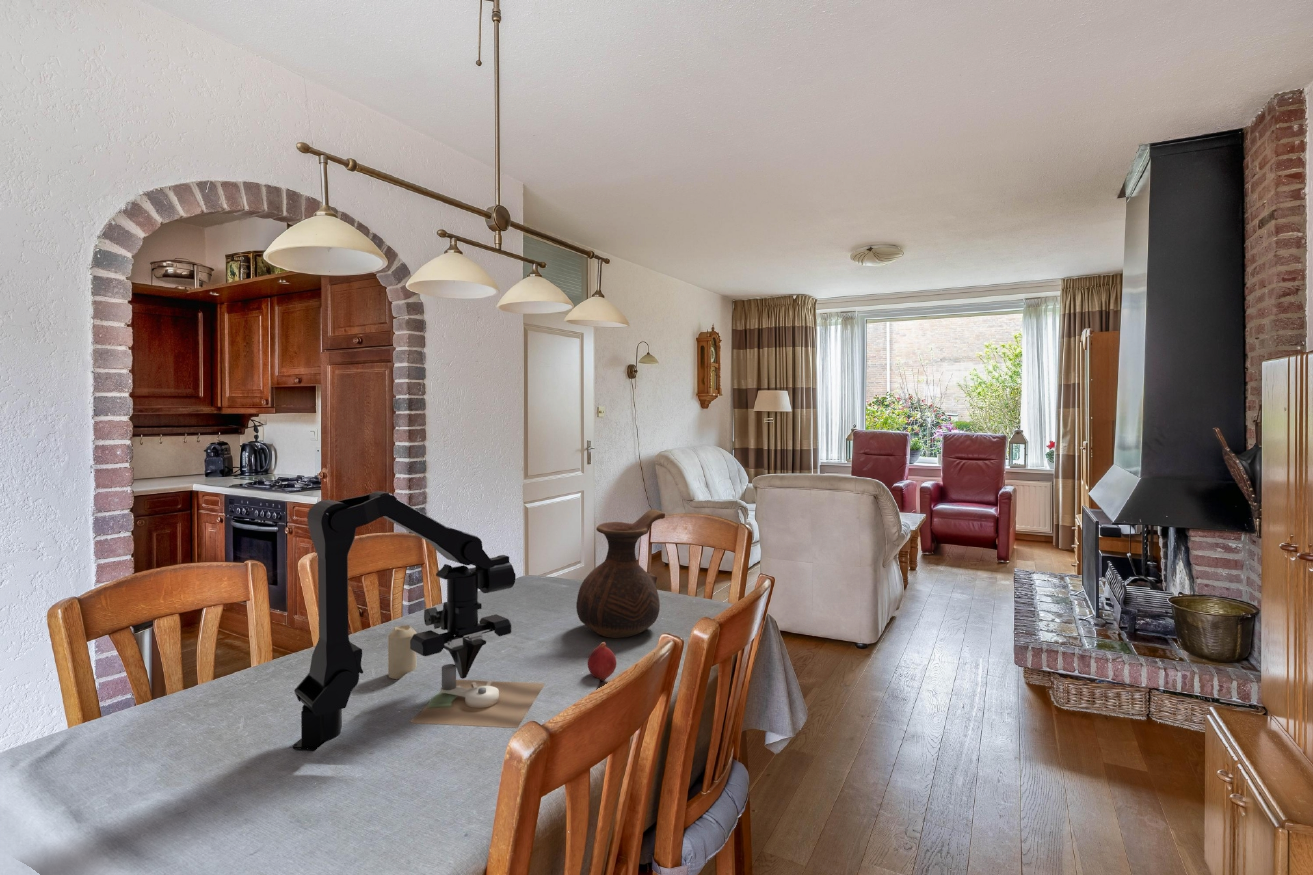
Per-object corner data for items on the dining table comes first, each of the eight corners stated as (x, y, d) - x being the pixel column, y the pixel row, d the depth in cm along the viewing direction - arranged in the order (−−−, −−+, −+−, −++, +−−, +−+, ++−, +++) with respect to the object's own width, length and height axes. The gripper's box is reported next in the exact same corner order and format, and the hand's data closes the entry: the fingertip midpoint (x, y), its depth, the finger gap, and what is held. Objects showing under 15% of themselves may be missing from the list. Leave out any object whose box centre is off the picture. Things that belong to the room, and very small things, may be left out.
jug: (653, 646, 158) (655, 520, 157) (565, 641, 161) (566, 517, 160) (666, 619, 179) (668, 508, 178) (588, 614, 182) (589, 505, 181)
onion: (590, 687, 133) (590, 648, 133) (585, 676, 139) (585, 638, 139) (618, 684, 135) (619, 645, 135) (612, 674, 141) (613, 636, 140)
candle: (406, 680, 136) (406, 632, 136) (382, 678, 137) (382, 630, 137) (421, 670, 142) (421, 623, 141) (398, 668, 143) (398, 622, 142)
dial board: (517, 734, 113) (517, 725, 113) (409, 729, 115) (409, 720, 115) (545, 689, 132) (545, 681, 132) (452, 685, 134) (452, 677, 134)
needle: (505, 697, 125) (505, 668, 125) (486, 709, 120) (486, 680, 120) (453, 687, 130) (453, 660, 129) (432, 699, 124) (432, 671, 124)
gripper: (483, 581, 141) (483, 654, 141) (396, 599, 127) (397, 679, 128) (512, 591, 133) (513, 669, 133) (424, 611, 120) (424, 696, 120)
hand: (463, 677), depth 129 cm, fingers closed
